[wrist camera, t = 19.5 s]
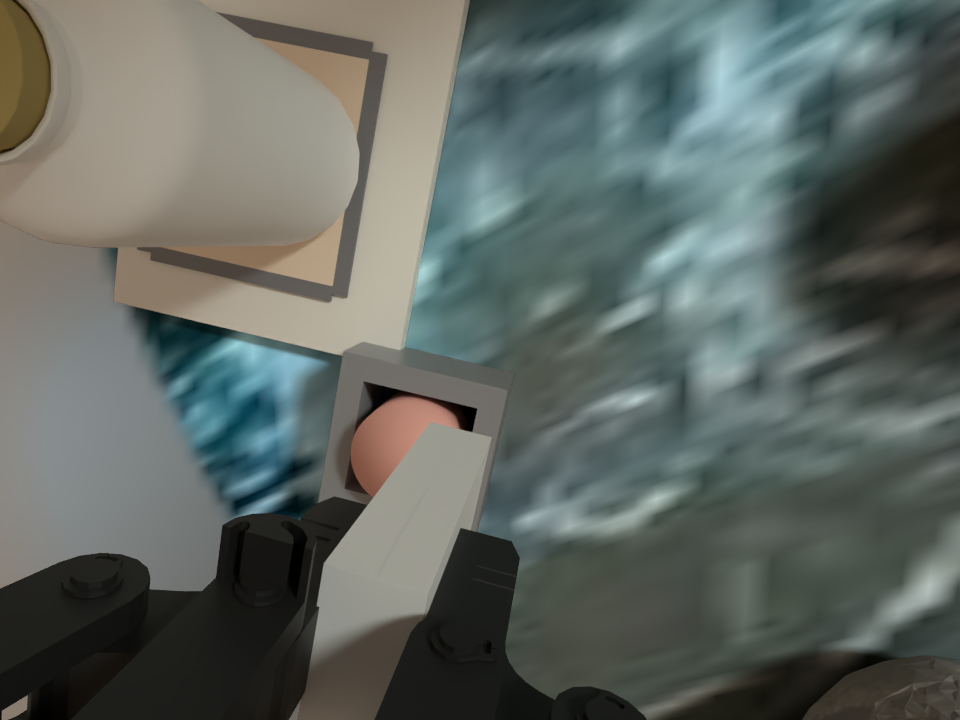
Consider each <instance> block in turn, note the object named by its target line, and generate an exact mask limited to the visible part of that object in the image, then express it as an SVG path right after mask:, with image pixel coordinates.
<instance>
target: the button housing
mask: <svg viewBox="0 0 960 720" xmlns="http://www.w3.org/2000/svg"><path fill="white" fill-rule="evenodd" d="M513 377H514V373H513V372H508V371H504V370H500V369H496V368H491V367H487V366H483V365H479V364H474V363H470V362H466V361H461V360H457V359H453V358H449V357H444V356H440V355H436V354H432V353H427V352H423V351H419V350H414V349H410V348H406V347H404V348H403V349H401V350H397V349H392V348H388V347H384V346H379V345H375V344H371V343H367V342H361V343H359V344H357V345H355V346H353V347H351V348H349V349H347V350H345V351H343V357H342V363H341V369H340V375H339V381H338V387H337V392H336V398H335V404H334V410H333V416H332V422H331V428H330V434H329V440H328V446H327V452H326V458H325V464H324V470H323V476H322V482H321V488H320V493H319V499H318V503H319V502H322V501H324V500H327V499H329V498H331V497H334V496H336V497H339V498H343V499H347V500H351V501H354V502H358V503H362V504H366V505H368V504H369V503H370V502H371V500H372V499H373V497H372V496H371V495H369V494H368V493H367V492H366V491H365V490H364V488H363V487H362V486H361V485H360V483H359V481H358V480H357V478H356V476H355V473H354V471H353V467H352V463H351V445H352V441H353V438H354V435H355V433H356V431H357V429H358V427H359V426H360V425H361V423H362V422H363V421H364V420H365V419H366V418H367V417H368V416H369V415H371V414H372V413H373V412H374V411H375V410H376V409H377V408H378V407H379V402H380V397H381V391H382V386H386V387H390V388H394V389H398V390H402V391H407V392H411V393H415V394H419V395H423V396H427V397H432V398H436V399H440V400H444V401H448V402H452V403H457V404H461V405H465V406H469V407H473V408H477V413H476V418H475V422H474V427H473V431H472V433H476V434H480V435H484V436H488V437H492V438H491V443H490V447H489V451H488V456H487V460H486V465H485V469H484V474H483V478H482V483H481V487H480V491H479V496H478V500H477V505H476V509H475V514H474V518H473V523H472V527H471V531H474V532H477V530H478V527H479V523H480V520H481V517H482V513H483V509H484V505H485V501H486V496H487V492H488V487H489V483H490V479H491V474H492V470H493V465H494V461H495V457H496V452H497V448H498V443H499V439H500V435H501V430H502V426H503V421H504V417H505V412H506V408H507V404H508V399H509V395H510V390H511V386H512V382H513Z"/></svg>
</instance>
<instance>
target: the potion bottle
mask: <svg viewBox="0 0 960 720" xmlns="http://www.w3.org/2000/svg"><path fill="white" fill-rule="evenodd" d="M359 156H360V152H359V148H358V143H357V139H356V135H355V130H354V126H353V124H352V122H351V120H350V118H349V117H348V115H347V113H346V111H345V110H344V108H343V106H342V104H341V103H340V101H339V99H338V98H337V97H336V96H335V95H334V94H332V93H331V92H330V91H329V90H328V89H327V88H326V87H325V86H324V85H323V84H322V83H321V82H320V81H318V80H317V79H316V78H314V77H313V76H311V75H310V74H308V73H307V72H305V71H304V70H302V69H301V68H299V67H298V66H296V65H295V64H293V63H292V62H290V61H289V60H287V59H286V58H284V57H282V56H281V55H279V54H278V53H276V52H275V51H273V50H272V49H270V48H269V47H267V46H266V45H264V44H263V43H261V42H260V41H258V40H257V39H255V38H254V37H252V36H251V35H249V34H248V33H246V32H245V31H243V30H242V29H240V28H239V27H237V26H236V25H234V24H233V23H231V22H230V21H228V20H227V19H225V18H224V17H222V16H221V15H219V14H218V13H216V12H215V11H213V10H212V9H210V8H209V7H207V6H206V5H204V4H203V3H201V2H200V1H198V0H0V220H1V221H2V222H5V223H7V224H9V225H11V226H13V227H15V228H17V229H19V230H21V231H23V232H26V233H28V234H30V235H32V236H34V237H36V238H38V239H41V240H45V241H48V242H52V243H59V244H67V245H76V246H84V247H92V248H116V247H208V246H286V245H290V244H295V243H299V242H303V241H308V240H310V239H312V238H314V237H315V236H317V235H318V234H320V233H321V232H323V231H325V230H326V229H328V228H329V227H331V226H332V225H333V224H334V223H335V222H336V220H337V219H338V218H339V217H340V215H341V214H342V213H343V212H344V210H345V209H346V208H347V207H348V205H349V203H350V200H351V197H352V195H353V192H354V189H355V187H356V184H357V182H358V171H359Z"/></svg>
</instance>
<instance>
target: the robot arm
mask: <svg viewBox="0 0 960 720" xmlns="http://www.w3.org/2000/svg"><path fill="white" fill-rule="evenodd" d="M491 438H492V437H488V436H484V435H480V434H476V433H472V432H469V431H465V430H461V429H457V428H453V427H449V426H445V425H441V424H437V423H433V422H430V423H429V425H428V426H427V427H426V429H425V430H424V431H423V433H422V434H421V435H420V436H419V438H418V439H417V440H416V442H415V443H414V444H413V446H412V447H411V448H410V450H409V451H408V452H407V454H406V455H405V456H404V458H403V459H402V460H401V462H400V463H399V464H398V466H397V467H396V468H395V470H394V471H393V472H392V474H391V475H390V476H389V478H388V479H387V480H386V482H385V483H384V484H383V486H382V487H381V488H380V490H379V491H378V492H377V494H376V495H375V496H374V498H373V499H372V500H371V502H370V503H369V504H368V505H366V504H362V503H358V502H354V501H351V500H347V499H343V498H339V497H336V496H334V497H331V498H329V499H327V500H324V501H322V502H319V503H317V504H314V505H313V506H312V507H311V508H310V509H309V510H308V511H307V512H306V514H305V515H304V516H303V517H302V518H301V521H299V520H297V519H294V518H292V517H289V516H284V515H278V514H272V513H266V514H250V515H246V516H242V517H237V518H235V519H233V520H231V521H229V522H227V523H226V524H224V525H223V526H222V534H221V542H220V550H219V559H218V567H217V575H216V578H215V579H214V580H213V581H212V582H211V583H210V584H209V585H208V586H207V587H206V588H205V589H204V590H203V591H187V592H185V591H167V590H150V589H149V586H150V575H149V571H148V568H147V567H146V566H145V565H143V564H142V563H141V562H140V561H138V560H137V559H134V558H131V557H128V556H124V555H121V554H109V553H98V554H91V555H82V556H78V557H75V558H72V559H68V560H65V561H62V562H59V563H57V564H55V565H52V566H50V567H48V568H46V569H43V570H41V571H39V572H37V573H34V574H33V575H30V576H28V577H26V578H23V579H21V580H19V581H16V582H14V583H12V584H10V585H7V586H5V587H3V588H1V589H0V720H1V715H2V714H1V713H2V710H4V709H5V708H7V707H8V706H10V705H12V704H13V703H15V702H17V701H18V700H20V699H22V698H23V697H25V696H27V695H28V704H27V710H26V711H24V712H23V713H21V714H20V715H18V716H16V717H14V718H12V719H9V720H289V718H290V717H291V715H292V713H293V711H294V710H295V708H296V706H297V704H298V703H299V701H300V699H301V702H300V708H299V714H298V720H647V719H646V718H645V716H644V715H643V714H642V713H640V712H639V711H638V710H637V709H636V708H635V707H634V706H633V705H632V704H630V703H629V702H628V701H626V700H624V699H622V698H621V697H619V696H617V695H615V694H613V693H611V692H610V691H606V690H602V689H598V688H594V687H572V688H570V689H568V690H566V691H564V692H562V693H560V694H559V695H558V696H557V698H556V699H555V700H554V699H552V698H550V697H548V696H546V695H545V694H543V693H541V692H539V691H538V690H536V689H535V688H533V687H532V686H531V685H529V684H528V683H526V682H525V681H524V680H523V679H522V678H521V677H520V676H519V675H518V674H517V673H516V672H515V670H514V669H513V667H512V666H511V664H510V663H509V661H508V658H507V655H506V652H505V641H506V635H507V629H508V623H509V618H510V612H511V606H512V600H513V594H514V588H515V583H516V576H517V571H518V566H519V560H520V558H519V556H518V554H517V552H516V550H515V547H514V545H513V543H512V541H508V540H504V539H501V538H497V537H493V536H489V535H486V534H482V533H478V532H474V531H471V527H472V523H473V518H474V514H475V509H476V505H477V500H478V496H479V491H480V487H481V483H482V478H483V474H484V469H485V465H486V460H487V456H488V451H489V447H490V443H491Z"/></svg>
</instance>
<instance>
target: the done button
mask: <svg viewBox="0 0 960 720" xmlns="http://www.w3.org/2000/svg"><path fill="white" fill-rule="evenodd" d="M430 422H433V423H437V424H441V425H445V426H449V427H453V428H457V429H461V430H465V431H469V429H468V424H467V420H466V418H465V415H464V413H463V411H462V410H461V408H460V407H459V405H458V404H457V403H452V402H448V401H444V400H440V399H436V398H432V397H427V396H423V395H419V394H415V393H411V392H407V391H402V390H400V391H399V392H397V393H395V394H394V395H392V396H391V397H390V398H389V399H387V400H386V401H385V402H384V403H383V404H382V405H381V406H380V407H378V408H377V409H376V410H375V411H374V412H373V413H372V414H371V415H369V416H368V417H367V418H366V419H365V420H364V421H363V422H362V423H361V425H360V426H359V427H358V429H357V431H356V433H355V435H354V438H353V441H352V445H351V463H352V467H353V471H354V473H355V476H356V478H357V480H358V481H359V483H360V485H361V486H362V487H363V488H364V490H365V491H366V492H367V493H368V494H369V495H371V496H372V497H373V498H374V496H375V495H376V494H377V492H378V491H379V490H380V488H381V487H382V486H383V484H384V483H385V482H386V480H387V479H388V478H389V476H390V475H391V474H392V472H393V471H394V470H395V468H396V467H397V466H398V464H399V463H400V462H401V460H402V459H403V458H404V456H405V455H406V454H407V452H408V451H409V450H410V448H411V447H412V446H413V444H414V443H415V442H416V440H417V439H418V438H419V436H420V435H421V434H422V433H423V431H424V430H425V429H426V427H427V426H428V425H429V423H430Z"/></svg>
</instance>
